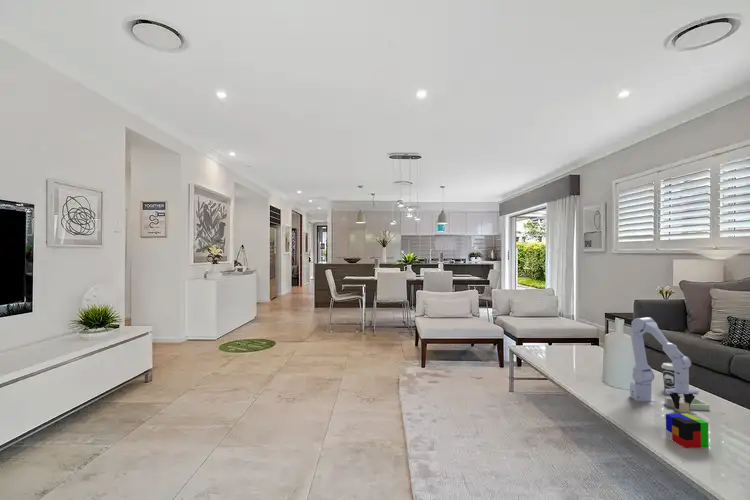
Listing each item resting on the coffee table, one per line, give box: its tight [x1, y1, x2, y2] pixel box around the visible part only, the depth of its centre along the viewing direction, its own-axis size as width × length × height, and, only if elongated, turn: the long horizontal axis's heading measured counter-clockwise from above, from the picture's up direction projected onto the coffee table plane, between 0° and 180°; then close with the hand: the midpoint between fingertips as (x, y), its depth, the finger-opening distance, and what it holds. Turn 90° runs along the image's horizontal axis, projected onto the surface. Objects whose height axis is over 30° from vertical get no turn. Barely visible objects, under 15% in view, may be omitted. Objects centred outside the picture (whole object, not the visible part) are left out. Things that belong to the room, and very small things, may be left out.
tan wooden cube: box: [675, 400, 690, 413], centre depth 205 cm, size 4×4×4 cm
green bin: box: [680, 397, 710, 411], centre depth 211 cm, size 9×9×3 cm
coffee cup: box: [660, 362, 675, 390], centre depth 237 cm, size 10×10×15 cm
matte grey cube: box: [664, 395, 675, 408], centre depth 212 cm, size 4×4×4 cm
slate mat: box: [662, 403, 697, 416], centre depth 207 cm, size 8×14×1 cm, turn 175°
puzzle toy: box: [665, 413, 709, 449], centre depth 172 cm, size 10×10×10 cm
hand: (681, 408), depth 205 cm, fingers closed on tan wooden cube, 4 cm apart
